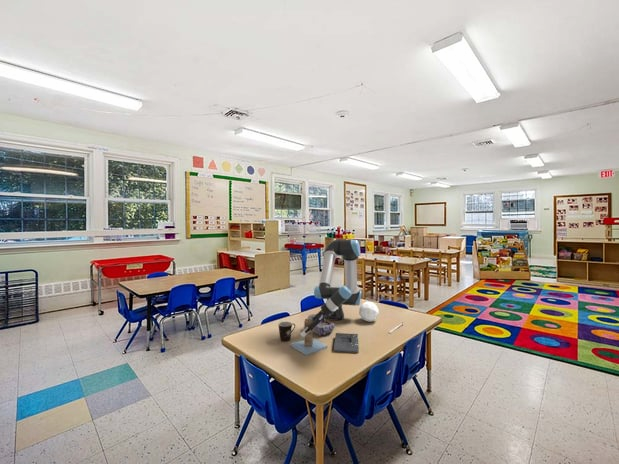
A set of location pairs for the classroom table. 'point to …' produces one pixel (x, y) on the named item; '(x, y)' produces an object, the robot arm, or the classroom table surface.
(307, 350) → the blue board
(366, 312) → the geometric sphere
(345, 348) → the socket block
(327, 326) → the cell model
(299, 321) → the classroom table surface
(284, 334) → the coffee mug
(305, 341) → the walnut peg
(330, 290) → the robot arm
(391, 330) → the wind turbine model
